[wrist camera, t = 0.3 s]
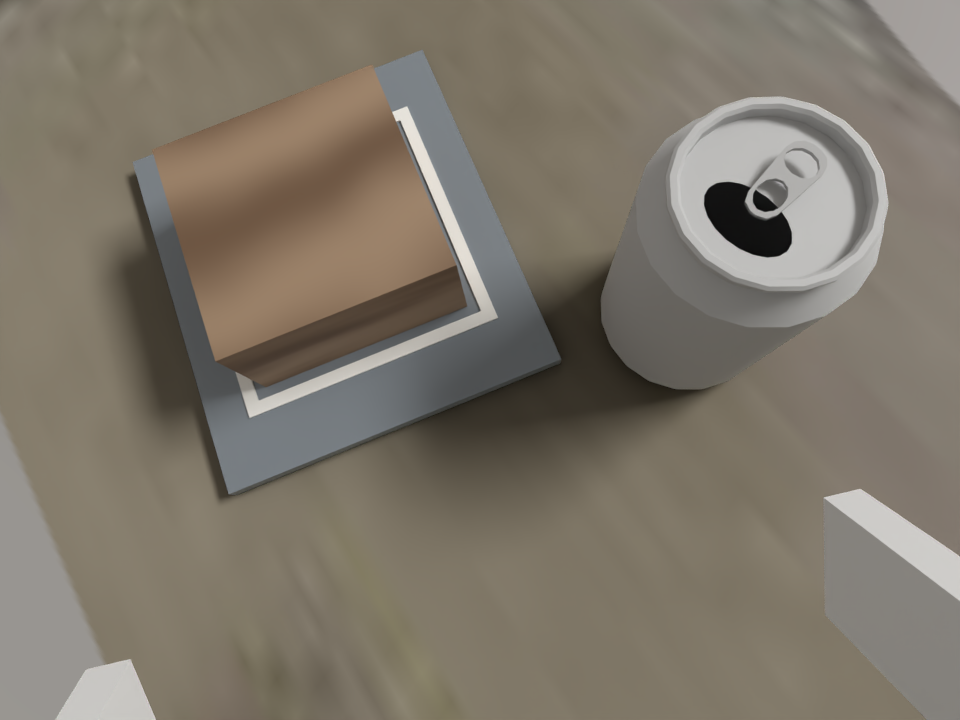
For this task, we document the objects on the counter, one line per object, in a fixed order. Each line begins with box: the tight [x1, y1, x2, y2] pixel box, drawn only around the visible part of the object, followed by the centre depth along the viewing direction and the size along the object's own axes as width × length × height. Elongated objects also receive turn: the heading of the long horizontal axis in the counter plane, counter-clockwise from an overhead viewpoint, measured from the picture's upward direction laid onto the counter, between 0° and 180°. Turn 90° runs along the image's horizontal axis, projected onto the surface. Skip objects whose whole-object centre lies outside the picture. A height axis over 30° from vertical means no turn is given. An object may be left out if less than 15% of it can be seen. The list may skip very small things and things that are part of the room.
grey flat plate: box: [133, 50, 561, 495], centre depth 31 cm, size 18×16×1 cm
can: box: [601, 97, 888, 389], centre depth 24 cm, size 8×8×12 cm
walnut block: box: [152, 65, 467, 387], centre depth 28 cm, size 10×10×5 cm
